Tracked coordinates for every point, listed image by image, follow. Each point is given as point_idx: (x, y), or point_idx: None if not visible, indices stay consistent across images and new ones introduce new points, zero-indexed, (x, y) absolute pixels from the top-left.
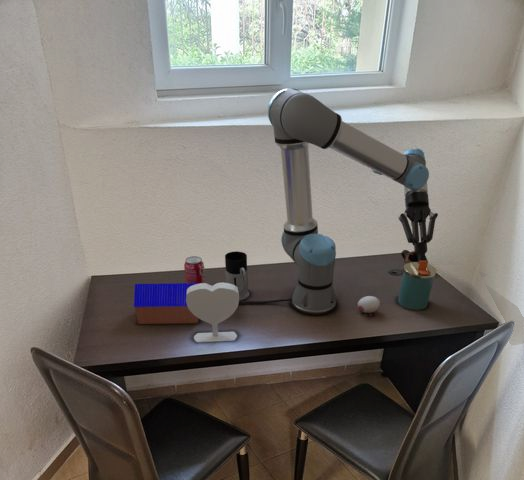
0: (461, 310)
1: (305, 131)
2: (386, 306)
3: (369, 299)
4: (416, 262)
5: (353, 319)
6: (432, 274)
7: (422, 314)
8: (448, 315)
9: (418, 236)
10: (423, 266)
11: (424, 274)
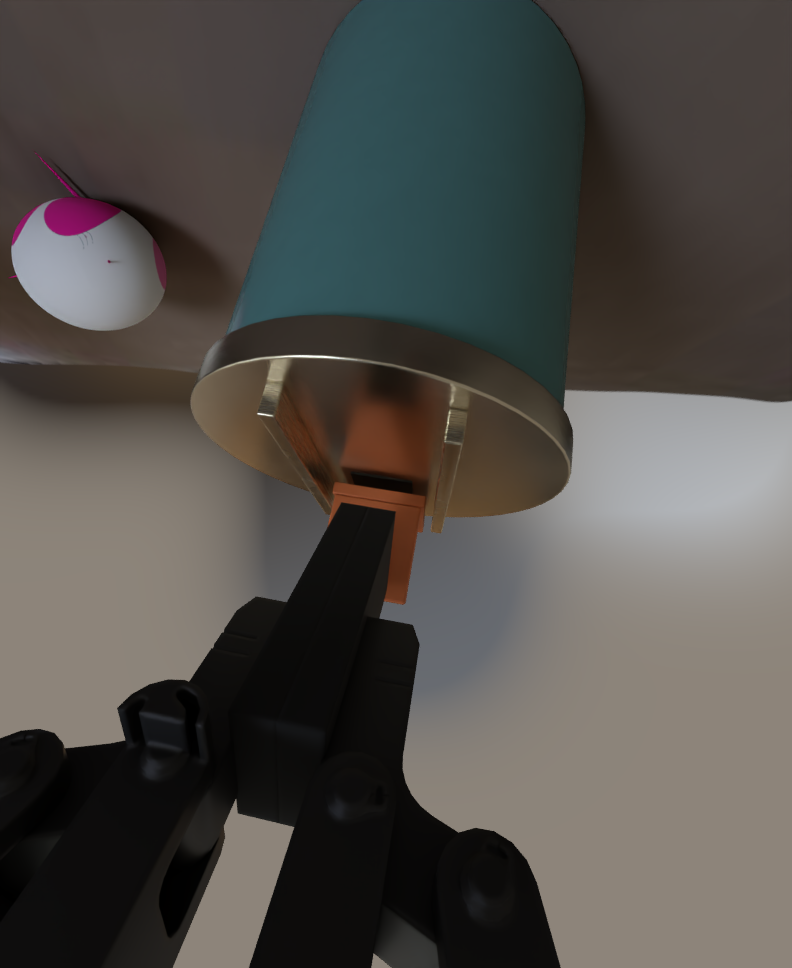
0: (759, 300)
1: None
2: (221, 177)
3: (81, 326)
4: (377, 376)
5: None
6: (460, 515)
7: None
8: (609, 327)
9: (159, 962)
10: None
11: None
